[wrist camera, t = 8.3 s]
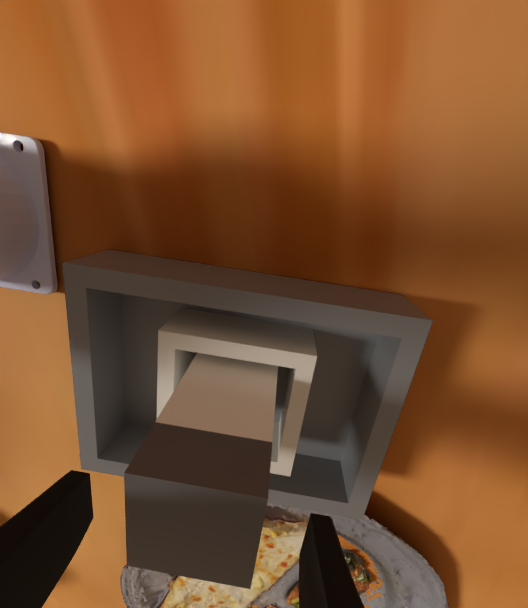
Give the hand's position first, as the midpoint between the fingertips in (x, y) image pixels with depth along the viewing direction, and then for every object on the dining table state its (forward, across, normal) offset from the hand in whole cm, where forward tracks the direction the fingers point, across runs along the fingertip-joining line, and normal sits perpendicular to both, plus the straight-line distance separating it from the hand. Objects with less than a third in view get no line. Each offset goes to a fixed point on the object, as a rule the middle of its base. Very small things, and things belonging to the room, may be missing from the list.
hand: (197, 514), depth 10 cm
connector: (+8, 0, 0) cm, 8 cm away
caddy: (+9, 0, 0) cm, 9 cm away
